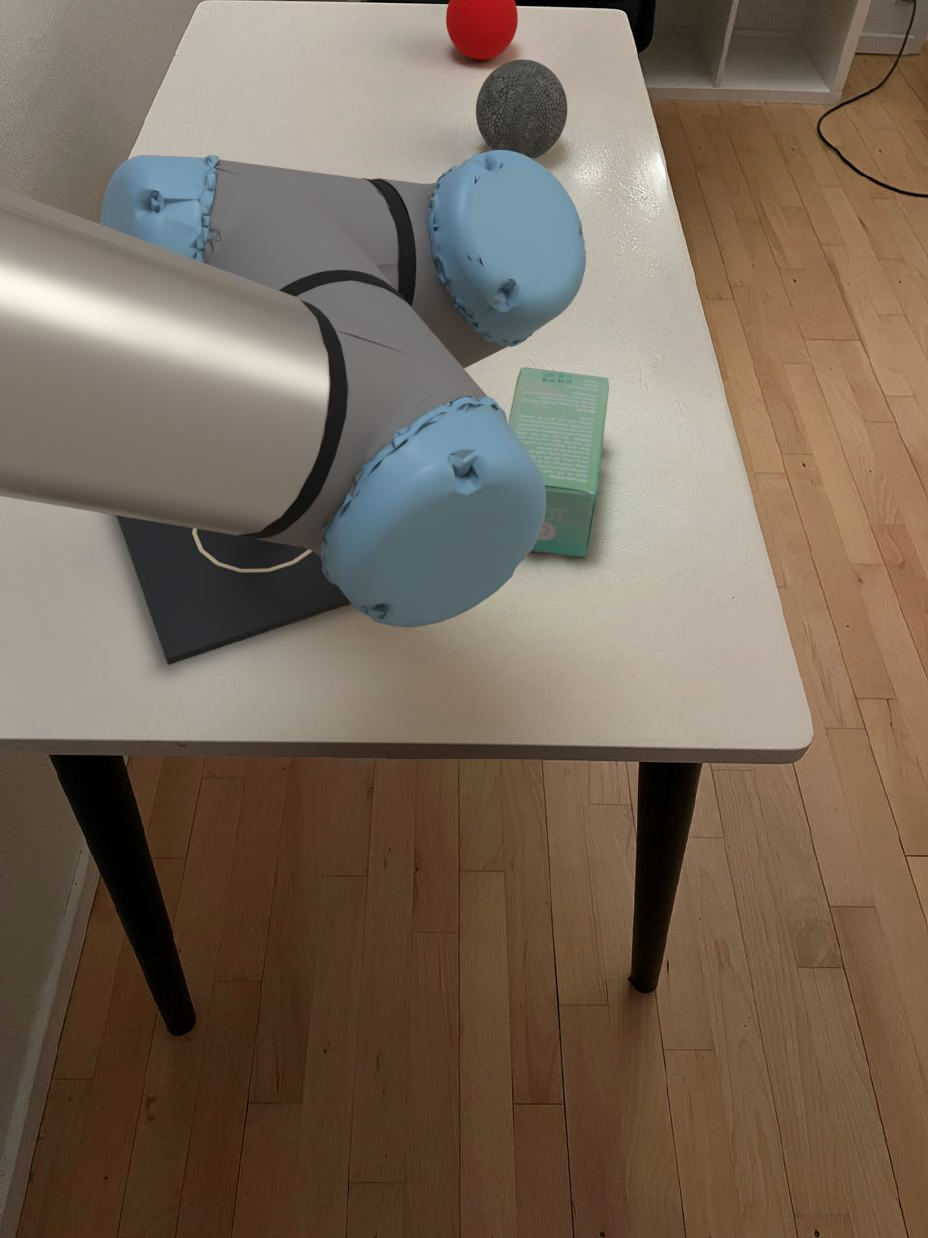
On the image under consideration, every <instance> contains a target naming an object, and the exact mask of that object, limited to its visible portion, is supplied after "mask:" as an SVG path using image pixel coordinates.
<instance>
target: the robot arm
mask: <svg viewBox="0 0 928 1238" xmlns="http://www.w3.org/2000/svg"><path fill="white" fill-rule="evenodd" d="M100 211H101V212H100V219H99V223H97V222H94V221H92V220H89V219H87V218H84V217H81V216H78V215H75V214H73V213H70V212H68V211H65V210H62V209H59V208H57V207H53V206H51V205H48V204H46V203H43V202H40V201H38V200H36V199H33V198H30V197H27V196H24V195H21V194H19V193H16V192H13V191H11V190H9V189H5V188H2V187H0V497H4V498H11V499H17V500H22V501H29V502H34V503H38V504H39V503H40V504H45V505H52V506H58V507H64V508H69V509H76V510H82V511H87V512H95V513H99V514H106V515H112V516H117V515H118V516H124V517H130V518H136V519H142V520H148V521H154V522H160V523H166V524H172V525H178V526H184V527H190V528H196V529H202V530H208V531H214V532H220V533H226V534H232V535H238V536H243V537H249V538H255V539H259V540H263V541H268V542H273V543H280V544H286V545H292V546H298V547H304V548H306V549H309V550H311V551H313V552H315V553H316V554H317V555H319V556H320V557H321V561H322V571H323V573H324V575H325V577H326V578H327V579H328V581H329V582H331V583H332V584H334V585H337V586H338V587H339V588H340V589H341V591H342V592H343V593H344V595H345V596H346V597H347V598H348V599H349V601H350V602H351V603H350V604H351V605H352V606H353V608H354V609H356V610H357V611H358V612H360V613H361V614H363V615H364V616H366V617H368V618H370V619H371V621H373V622H376V623H378V624H380V625H385V626H390V627H394V628H419V627H424V626H430V625H435V624H439V623H442V622H445V621H448V620H450V619H452V618H456V617H457V616H460V615H461V614H462V615H463V614H464V613H466V612H468V611H469V610H472V609H474V608H475V607H477V606H479V605H480V604H481V603H483V602H484V601H485V600H487V599H489V598H490V597H491V596H492V595H494V594H495V593H496V592H498V591H499V590H500V589H501V588H502V587H503V586H504V585H505V584H506V583H507V582H508V581H509V580H510V579H512V578H513V576H514V573H515V571H516V569H517V567H518V566H519V565H520V563H521V562H523V561H524V560H525V558H526V556H528V555H529V553H531V552H532V551H531V550H532V549H533V547H534V545H535V543H536V541H537V539H538V536H539V534H540V532H541V529H542V525H543V522H544V518H545V511H546V491H545V486H544V481H543V478H542V476H541V473H540V471H539V469H538V467H537V465H536V463H535V462H534V460H533V459H532V457H531V456H530V454H529V453H528V452H527V450H526V449H525V447H524V446H523V444H522V443H521V442H520V440H519V439H518V437H517V436H516V434H515V433H514V432H513V430H512V429H511V427H510V426H509V424H508V423H509V422H508V418H507V415H506V412H505V410H504V409H503V408H502V407H501V406H500V405H499V403H498V402H497V401H496V400H495V399H494V398H493V397H489V396H488V395H487V394H486V393H485V392H484V390H483V389H482V388H481V387H480V386H479V384H478V383H477V382H476V381H475V380H474V379H473V378H472V376H471V375H470V374H469V372H467V370H466V368H468V367H470V366H473V365H474V364H476V363H478V362H480V361H483V360H484V359H486V358H488V357H490V356H492V355H494V354H497V353H499V352H500V351H502V350H504V349H507V348H509V347H510V348H512V347H516V346H518V345H520V344H522V343H524V342H525V341H527V340H528V338H529V337H532V335H533V334H534V333H535V332H537V331H538V330H540V329H541V328H543V327H544V326H545V325H547V324H549V323H550V322H551V321H553V320H554V319H556V318H557V317H559V316H561V315H562V313H564V312H565V311H566V310H567V309H568V308H569V307H570V305H571V304H572V303H573V301H574V299H576V296H577V295H578V293H579V291H580V290H581V289H580V288H581V286H582V284H583V280H584V275H585V272H586V264H587V250H586V247H585V246H586V245H585V243H586V242H585V238H584V233H583V223H582V221H581V218H580V215H579V213H578V210H577V207H576V205H575V203H574V202H573V199H572V198H571V196H570V194H569V193H568V191H567V190H566V188H565V187H564V186H563V184H562V183H561V182H560V181H559V180H558V178H557V176H555V175H554V174H553V173H552V172H551V171H550V170H549V169H547V168H546V167H545V166H544V165H542V164H540V163H539V162H538V161H537V160H534V159H531V158H529V157H527V156H525V155H523V154H520V153H517V152H513V151H508V150H492V149H491V150H488V151H484V152H481V153H479V154H476V155H474V156H471V157H470V158H468V159H467V160H464V161H463V162H461V163H460V164H459V165H455V164H454V165H453V166H451V167H450V168H449V169H448V170H447V171H445V172H444V173H442V174H441V175H440V176H439V177H438V179H437V180H436V181H435V182H433V183H420V182H412V181H403V180H396V179H387V178H381V177H380V178H379V177H378V178H372V179H370V178H366V177H362V178H360V177H352V176H345V175H338V174H331V173H324V172H323V173H322V172H315V171H308V170H300V169H292V168H287V167H286V168H285V167H279V166H271V165H263V164H256V163H250V162H242V161H234V160H228V159H220V157H219V156H218V155H215V154H208V155H206V156H205V157H196V156H194V157H193V156H175V155H154V154H141V155H140V154H139V155H135V156H133V157H130V158H129V159H126V160H125V161H123V162H121V164H120V165H119V166H118V167H117V168H116V170H115V171H114V172H113V174H112V176H111V178H110V180H109V182H108V184H107V187H106V190H105V192H104V196H103V201H102V206H101V210H100Z"/></svg>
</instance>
